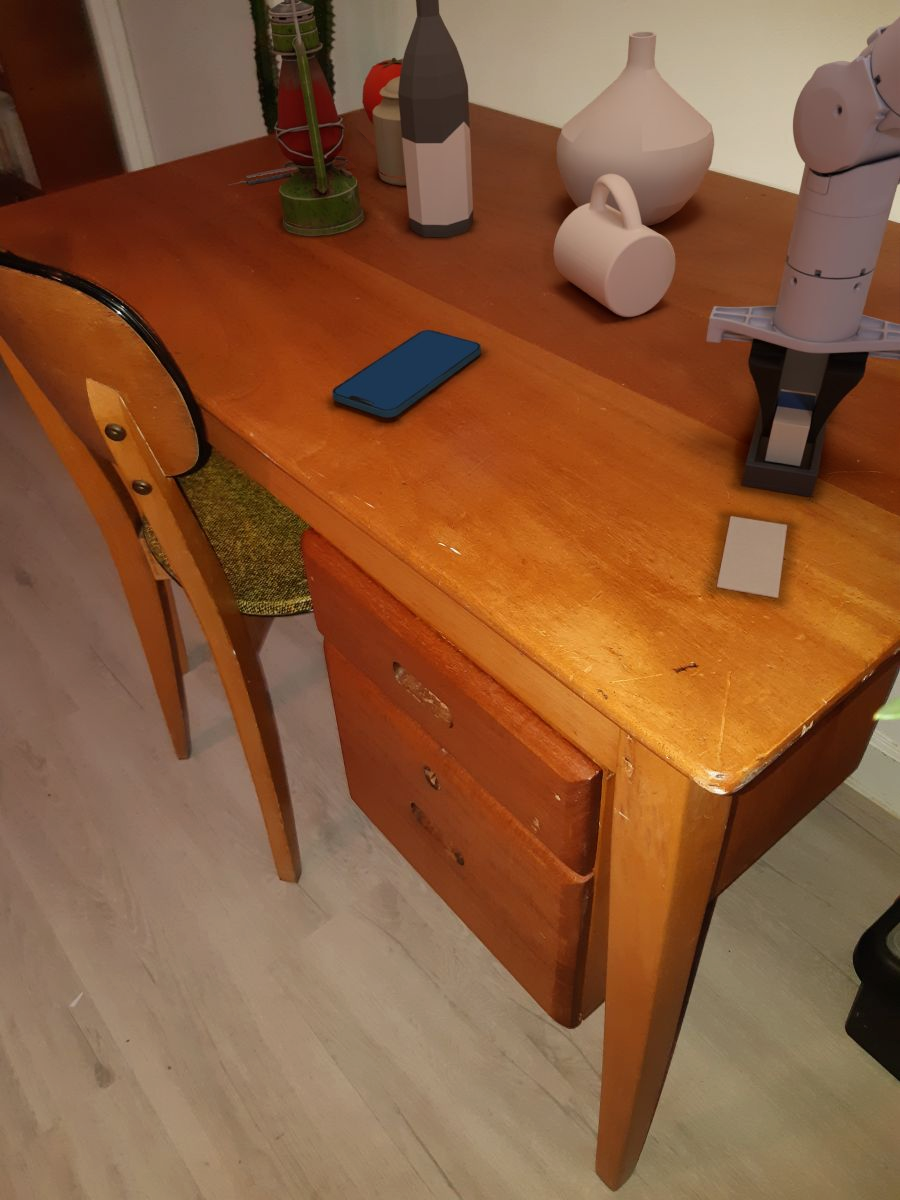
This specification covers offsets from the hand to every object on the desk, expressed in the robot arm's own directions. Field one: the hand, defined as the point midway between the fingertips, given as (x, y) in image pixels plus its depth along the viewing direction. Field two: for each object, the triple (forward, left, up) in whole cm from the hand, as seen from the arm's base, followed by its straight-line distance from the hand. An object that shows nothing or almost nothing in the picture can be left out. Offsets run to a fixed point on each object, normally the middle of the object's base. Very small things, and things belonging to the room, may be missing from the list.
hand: (789, 433), depth 69 cm
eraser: (0, 0, -1) cm, 1 cm away
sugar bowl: (+77, -29, -2) cm, 82 cm away
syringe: (+89, -16, -2) cm, 90 cm away
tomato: (+93, -41, -2) cm, 102 cm away
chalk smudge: (-5, +12, -2) cm, 13 cm away
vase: (+42, -34, -2) cm, 54 cm away
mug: (+29, -14, -2) cm, 32 cm away
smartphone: (+33, +11, -2) cm, 35 cm away
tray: (+5, -12, -2) cm, 13 cm away
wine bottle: (+58, -17, -2) cm, 60 cm away
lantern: (+72, -9, -2) cm, 72 cm away
